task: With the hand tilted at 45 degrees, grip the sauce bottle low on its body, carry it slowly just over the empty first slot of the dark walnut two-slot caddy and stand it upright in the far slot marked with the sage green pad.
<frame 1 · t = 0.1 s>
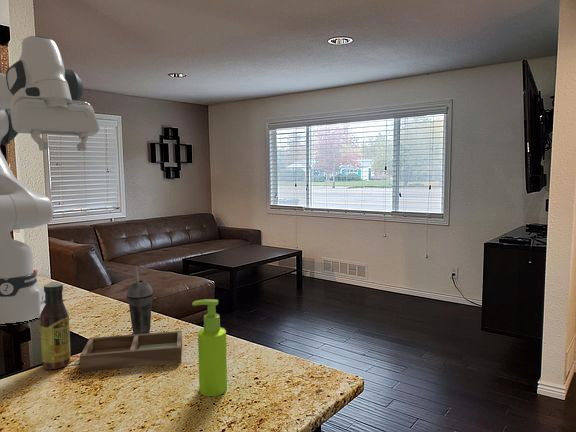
hand: (63, 150, 111), 52 cm above the countertop, tool tilted 20°, fingers open, 8 cm apart
sauce bottle: (57, 365, 108), on the countertop
caddy: (134, 357, 112), on the countertop
soap dispenser: (210, 390, 96), on the countertop
beverage cup: (141, 334, 127), on the countertop
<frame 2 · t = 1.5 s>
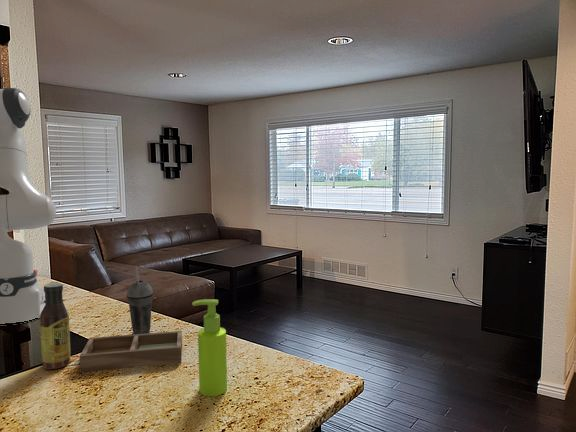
nothing on the countertop moved.
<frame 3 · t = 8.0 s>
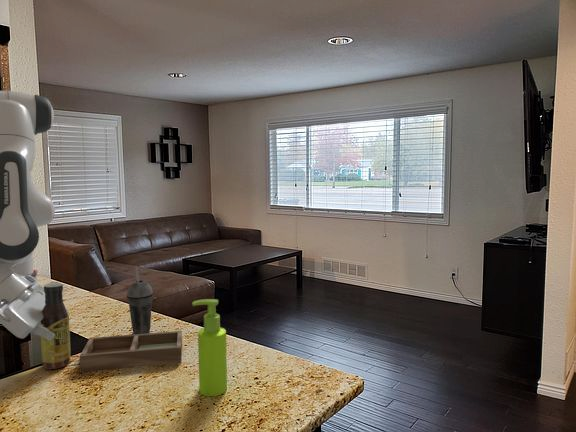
hand: (58, 331, 107), 8 cm above the countertop, tool tilted 45°, fingers closed on sauce bottle, 6 cm apart
sauce bottle: (57, 365, 108), on the countertop, touching gripper
everything else where it was.
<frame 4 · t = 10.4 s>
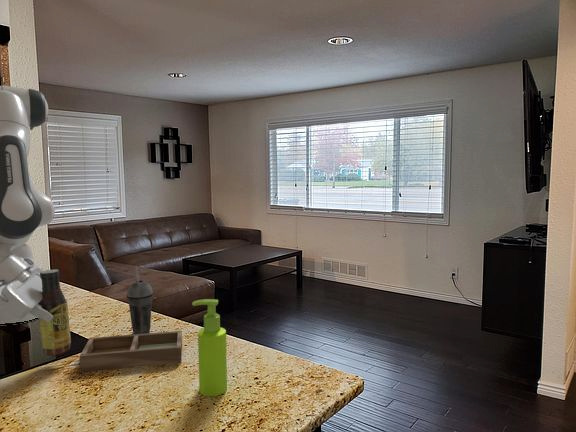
hand: (56, 313, 106), 13 cm above the countertop, tool tilted 45°, fingers closed on sauce bottle, 6 cm apart
sauce bottle: (58, 351, 107), point 3 cm above the countertop, touching gripper
everything else where it was.
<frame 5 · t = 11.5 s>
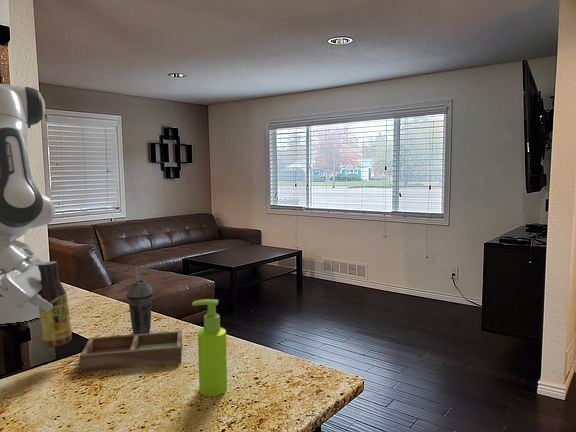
hand: (56, 303, 106), 15 cm above the countertop, tool tilted 45°, fingers closed on sauce bottle, 6 cm apart
sauce bottle: (59, 343, 107), point 5 cm above the countertop, touching gripper
everything else where it was.
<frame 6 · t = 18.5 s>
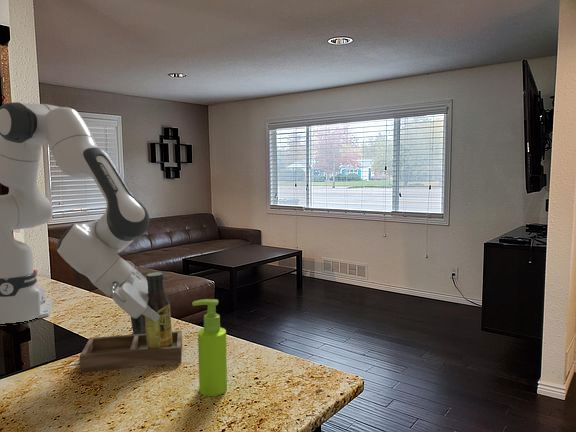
hand: (159, 313, 112), 11 cm above the countertop, tool tilted 45°, fingers closed on sauce bottle, 6 cm apart
sauce bottle: (160, 350, 113), point 1 cm above the countertop, touching caddy, gripper
everything else where it was.
when the fingers open (11 cm above the countertop, at t = 19.6 s): sauce bottle stays where it is, resting on caddy.
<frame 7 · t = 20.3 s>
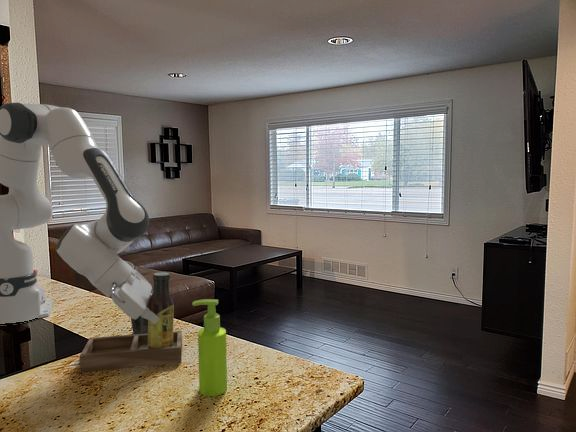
hand: (158, 314, 112), 11 cm above the countertop, tool tilted 45°, fingers open, 8 cm apart
sauce bottle: (160, 351, 113), point 1 cm above the countertop, touching caddy
everything else where it was.
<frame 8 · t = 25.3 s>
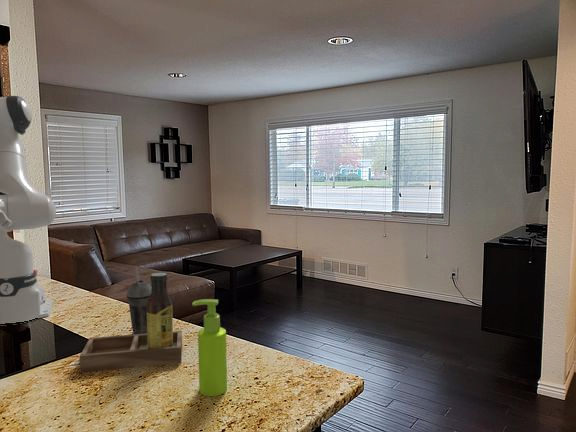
hand: (1, 228, 105), 33 cm above the countertop, tool tilted 45°, fingers open, 8 cm apart
nothing on the countertop moved.
at the end: sauce bottle 0.8 cm from the target spot on the caddy, point 1.1 cm above the caddy's base; sauce bottle tilted 0°; the gripper is holding nothing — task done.
